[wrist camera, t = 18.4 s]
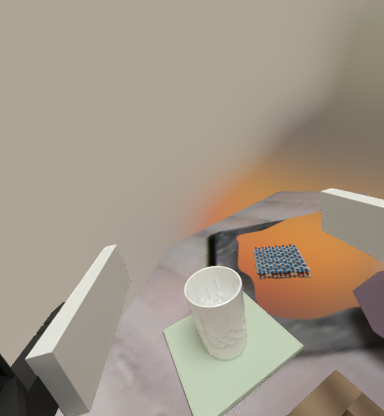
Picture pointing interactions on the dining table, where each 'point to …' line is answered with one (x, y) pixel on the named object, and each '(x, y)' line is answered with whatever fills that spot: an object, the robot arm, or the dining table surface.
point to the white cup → (218, 310)
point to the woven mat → (280, 263)
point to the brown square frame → (337, 400)
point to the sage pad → (229, 361)
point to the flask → (373, 301)
